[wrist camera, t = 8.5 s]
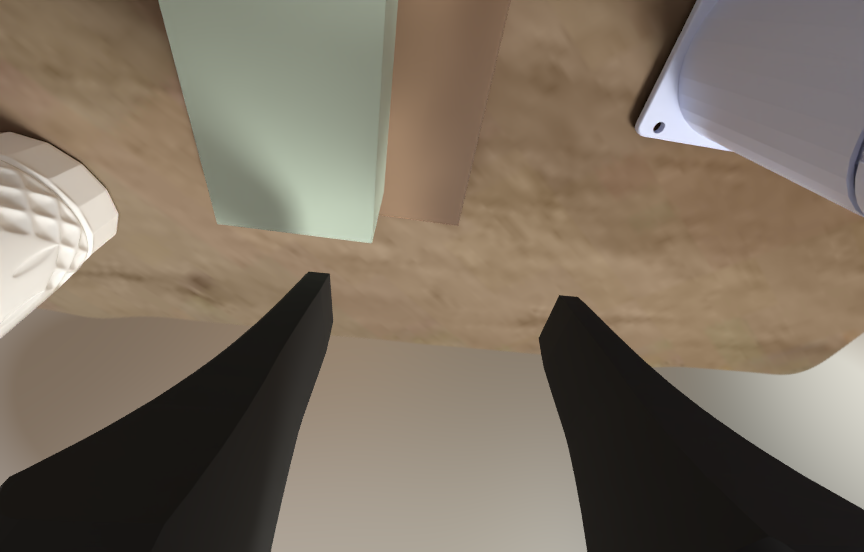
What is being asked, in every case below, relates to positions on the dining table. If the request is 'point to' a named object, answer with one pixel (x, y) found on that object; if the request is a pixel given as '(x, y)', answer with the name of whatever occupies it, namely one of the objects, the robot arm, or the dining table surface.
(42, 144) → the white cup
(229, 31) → the pale green rectangular block
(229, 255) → the dining table surface
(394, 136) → the peg base
